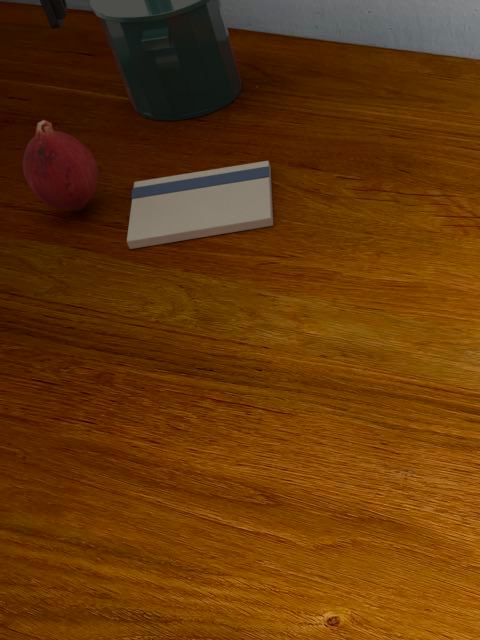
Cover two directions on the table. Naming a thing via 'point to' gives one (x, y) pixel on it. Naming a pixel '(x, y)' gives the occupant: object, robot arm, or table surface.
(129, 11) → the pot lid
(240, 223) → the towel
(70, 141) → the onion
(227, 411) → the table surface
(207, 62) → the pot
